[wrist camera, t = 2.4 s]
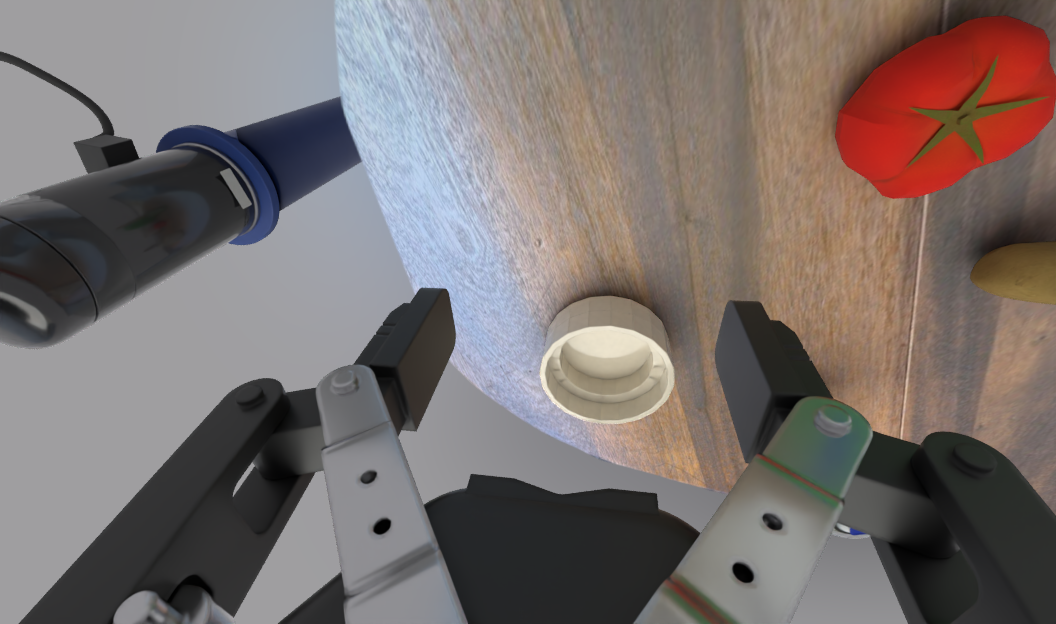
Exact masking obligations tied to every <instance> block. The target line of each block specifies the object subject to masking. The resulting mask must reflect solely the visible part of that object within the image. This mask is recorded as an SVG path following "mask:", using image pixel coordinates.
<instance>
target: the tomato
mask: <svg viewBox="0 0 1056 624" xmlns="http://www.w3.org/2000/svg"><path fill="white" fill-rule="evenodd" d="M1049 52H1050V42H1049V40H1048V38H1047V36H1046V34H1045V32H1044V30H1043V29H1040V28H1038V27H1035V26H1033V25H1030V24H1028V23H1026V22H1023V21H1021V20H1018V19H1015V18H1012V17H1008V16H992V17H981V18H976V19H971V20H968V21H966V22H964V23H962V24H960V25H959V26H957V27H955V28H953V29H951V30H949V31H948V32H946V33H944V34H941V35H936V36H931V37H927V38H925V39H923V40H921V41H920V42H918V43H916V44H914V45H912V46H910V47H909V48H907V49H905V50H903V51H902V52H900V53H899V54H897V55H896V56H894V57H893V58H891V59H890V60H888V61H887V62H885V63H884V64H882V65H881V66H879V67H878V68H876V69H875V70H874V71H873V72H872V73H871V74H870V75H869V77H868V78H867V79H866V80H865V81H864V83H863V84H862V85H861V86H860V88H859V89H858V90H857V91H856V92H855V94H854V95H853V96H852V97H851V98H850V100H849V101H848V102H847V103H846V104H845V106H844V107H843V108H842V109H841V110H840V111H839V114H838V120H837V127H836V133H835V138H836V141H837V144H838V148H839V151H840V154H841V158H842V160H843V161H844V163H845V164H846V165H847V166H848V167H849V168H851V169H852V170H854V171H856V172H857V173H859V174H860V175H862V176H863V177H865V178H867V179H868V180H869V181H870V182H871V183H872V184H873V185H874V186H875V187H876V188H877V190H878V191H879V192H880V193H881V194H882V196H886V197H889V198H893V199H894V198H916V197H919V196H922V195H926V194H929V193H932V192H935V191H938V190H941V189H943V188H946V187H949V186H952V185H953V184H954V183H956V182H957V181H958V180H959V179H961V178H962V177H963V176H965V175H966V174H967V173H969V172H970V171H971V170H973V169H976V168H978V167H980V166H983V165H986V164H989V163H992V162H995V161H998V160H1001V159H1004V158H1006V157H1008V156H1009V155H1011V154H1012V153H1014V152H1015V151H1017V150H1018V149H1020V148H1021V147H1023V146H1024V145H1026V144H1027V143H1029V142H1030V141H1032V140H1033V139H1034V138H1035V137H1036V136H1037V135H1038V133H1039V132H1040V131H1041V130H1042V129H1043V128H1044V127H1045V126H1046V125H1047V124H1048V122H1049V121H1050V120H1051V119H1052V118H1053V113H1054V107H1055V100H1056V75H1055V73H1054V71H1053V69H1052V66H1051V64H1050V62H1049Z"/></svg>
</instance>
